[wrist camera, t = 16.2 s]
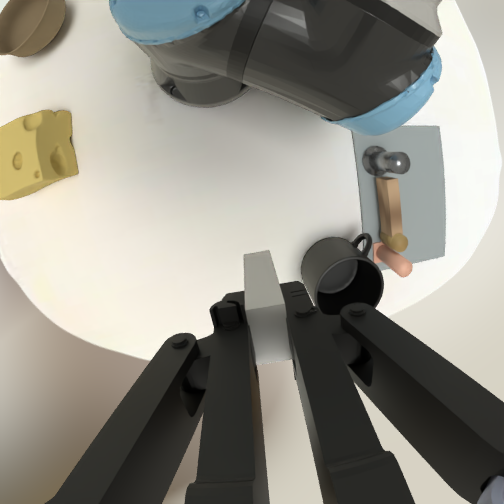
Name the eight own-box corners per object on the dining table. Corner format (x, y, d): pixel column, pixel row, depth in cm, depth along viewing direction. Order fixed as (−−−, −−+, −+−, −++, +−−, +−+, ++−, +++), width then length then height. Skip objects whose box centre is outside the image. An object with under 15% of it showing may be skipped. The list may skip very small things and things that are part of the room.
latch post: (371, 242, 43) (395, 259, 35) (389, 239, 43) (415, 255, 35) (372, 261, 44) (394, 282, 36) (389, 258, 44) (414, 277, 36)
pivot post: (359, 147, 38) (383, 146, 31) (385, 145, 38) (413, 144, 31) (362, 177, 40) (387, 182, 32) (388, 174, 40) (416, 179, 32)
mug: (379, 240, 43) (407, 260, 34) (338, 304, 46) (356, 334, 37) (331, 209, 41) (353, 223, 33) (288, 279, 44) (299, 308, 36)
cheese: (72, 111, 35) (34, 104, 25) (81, 177, 38) (44, 185, 29) (25, 133, 35) (-14, 133, 26) (34, 194, 38) (-4, 205, 29)
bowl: (13, 61, 30) (-22, 51, 21) (45, 1, 27) (16, -17, 17) (54, 69, 32) (18, 57, 23) (91, 4, 29) (64, -20, 19)
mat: (351, 128, 38) (352, 128, 37) (437, 126, 37) (439, 126, 37) (364, 272, 44) (365, 273, 44) (443, 255, 44) (444, 256, 44)
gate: (373, 178, 38) (388, 181, 34) (388, 176, 38) (403, 178, 34) (380, 244, 41) (394, 253, 37) (394, 241, 41) (408, 250, 37)
